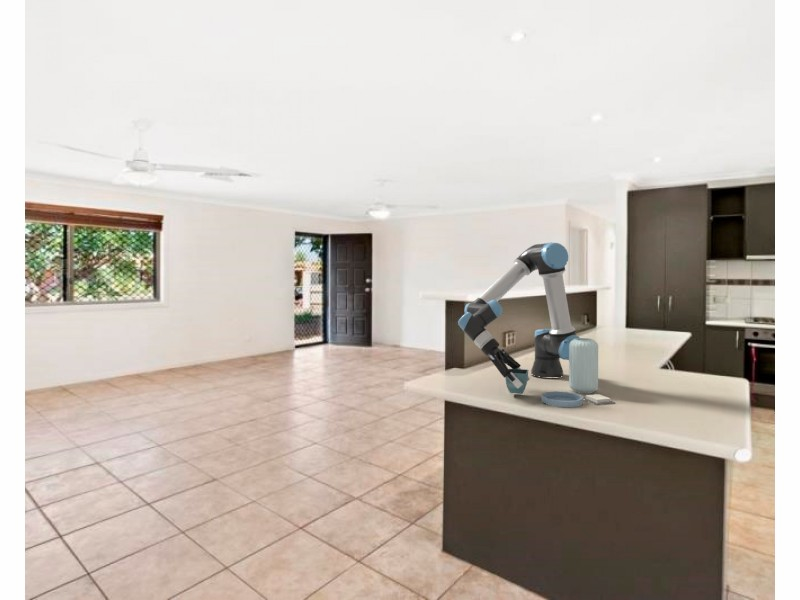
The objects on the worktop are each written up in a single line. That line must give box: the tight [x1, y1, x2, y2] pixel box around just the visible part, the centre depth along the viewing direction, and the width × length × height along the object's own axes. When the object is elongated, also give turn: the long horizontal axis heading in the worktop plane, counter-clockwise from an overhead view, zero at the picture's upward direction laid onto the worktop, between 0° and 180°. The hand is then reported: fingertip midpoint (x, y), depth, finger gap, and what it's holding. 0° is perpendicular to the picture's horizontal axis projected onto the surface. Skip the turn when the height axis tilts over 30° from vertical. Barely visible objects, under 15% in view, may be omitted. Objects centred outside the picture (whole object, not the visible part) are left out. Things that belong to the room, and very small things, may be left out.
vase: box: [568, 337, 599, 394], centre depth 201 cm, size 12×12×22 cm
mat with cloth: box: [582, 393, 616, 406], centre depth 186 cm, size 10×8×2 cm
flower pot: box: [505, 368, 529, 395], centre depth 197 cm, size 9×9×9 cm
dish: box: [541, 390, 584, 408], centre depth 186 cm, size 15×15×2 cm
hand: (524, 383), depth 195 cm, fingers closed on flower pot, 10 cm apart
